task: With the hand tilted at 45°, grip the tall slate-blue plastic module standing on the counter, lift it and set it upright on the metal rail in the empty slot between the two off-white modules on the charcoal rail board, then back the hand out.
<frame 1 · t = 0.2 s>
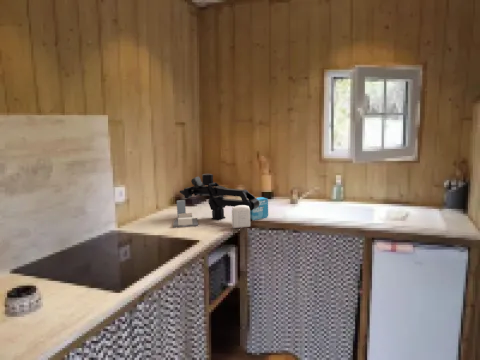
hand: (184, 189, 244), 16 cm above the counter, tool horizontal, fingers open, 9 cm apart
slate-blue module: (181, 218, 238), on the counter
rail board: (185, 223, 226), on the counter
photo printer: (241, 227, 215), on the counter
data package: (258, 218, 232), on the counter
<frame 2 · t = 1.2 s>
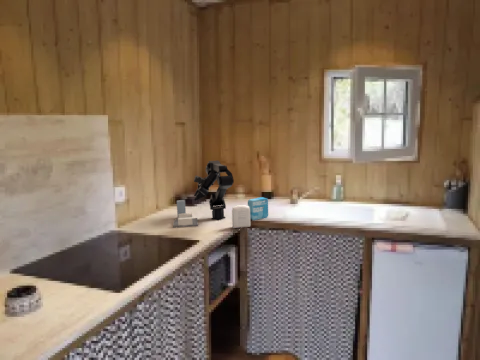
hand: (194, 198, 238), 12 cm above the counter, tool tilted 45°, fingers open, 9 cm apart
nothing on the counter moved.
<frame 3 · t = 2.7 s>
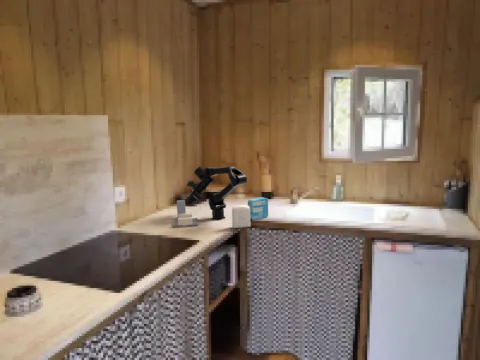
hand: (186, 202, 238), 10 cm above the counter, tool tilted 45°, fingers open, 9 cm apart
nothing on the counter moved.
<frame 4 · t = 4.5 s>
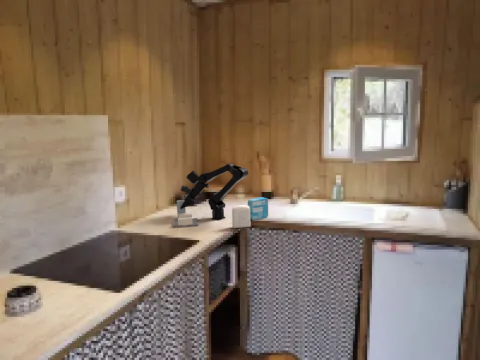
hand: (180, 207, 237), 7 cm above the counter, tool tilted 45°, fingers closed on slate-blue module, 4 cm apart
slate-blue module: (181, 218, 238), on the counter, touching gripper
everything else where it was.
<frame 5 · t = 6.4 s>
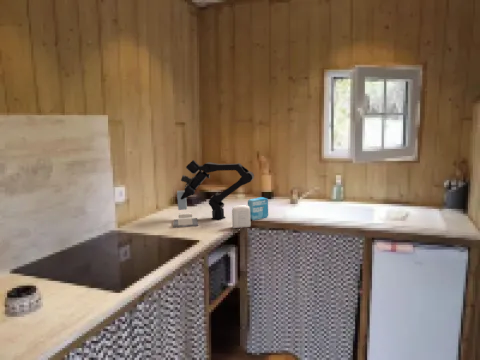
hand: (181, 198, 233), 13 cm above the counter, tool tilted 45°, fingers closed on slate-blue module, 4 cm apart
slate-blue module: (182, 208, 234), point 7 cm above the counter, touching gripper
everything else where it was.
when the fingers open (9 cm above the counter, at t = 8.6 s): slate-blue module drops 1 cm, resting on rail board.
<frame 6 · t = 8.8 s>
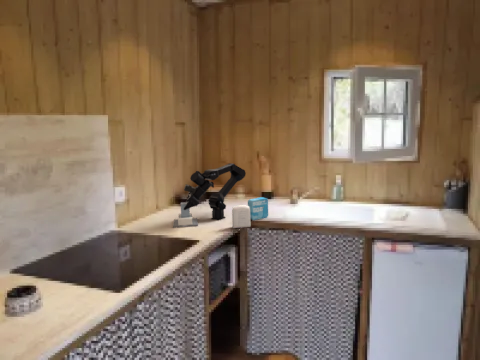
hand: (184, 208, 224), 9 cm above the counter, tool tilted 45°, fingers open, 7 cm apart
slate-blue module: (185, 221, 226), point 1 cm above the counter, touching rail board
everything else where it was.
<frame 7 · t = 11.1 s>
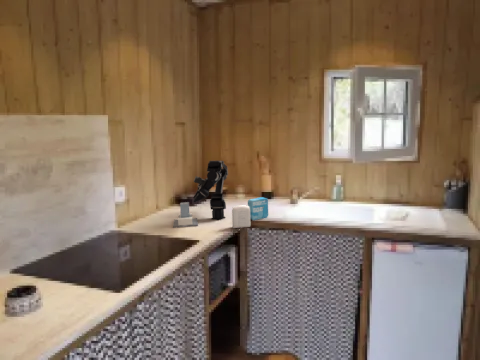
hand: (193, 200, 225), 14 cm above the counter, tool tilted 45°, fingers open, 9 cm apart
nothing on the counter moved.
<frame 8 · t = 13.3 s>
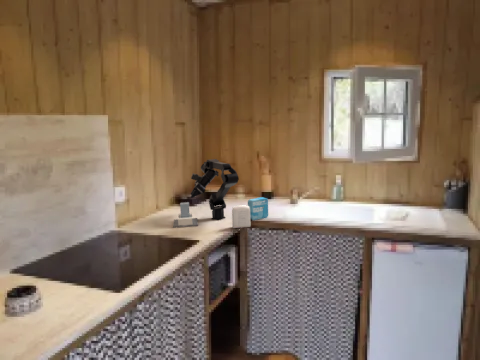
hand: (191, 196, 237), 14 cm above the counter, tool tilted 45°, fingers open, 9 cm apart
nothing on the counter moved.
at the end: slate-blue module 0.1 cm off-centre on the rail board, point 1.1 cm above the rail board's base; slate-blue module tilted 0°; the gripper is holding nothing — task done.
